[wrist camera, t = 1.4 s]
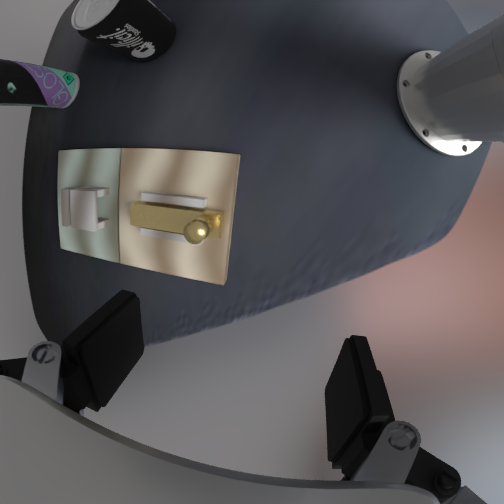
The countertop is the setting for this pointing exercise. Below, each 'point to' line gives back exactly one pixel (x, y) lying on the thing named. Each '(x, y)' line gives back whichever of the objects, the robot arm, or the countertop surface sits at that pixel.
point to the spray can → (36, 85)
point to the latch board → (151, 190)
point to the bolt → (178, 220)
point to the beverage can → (125, 27)
